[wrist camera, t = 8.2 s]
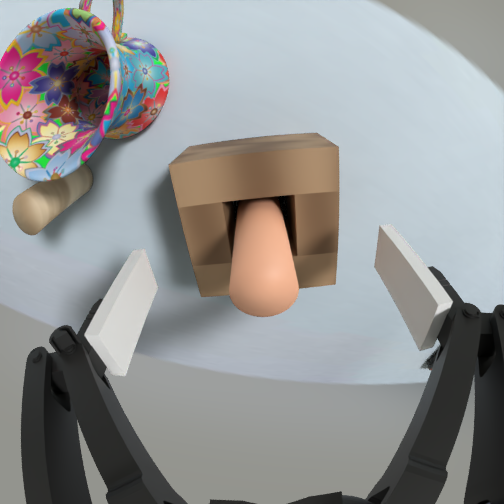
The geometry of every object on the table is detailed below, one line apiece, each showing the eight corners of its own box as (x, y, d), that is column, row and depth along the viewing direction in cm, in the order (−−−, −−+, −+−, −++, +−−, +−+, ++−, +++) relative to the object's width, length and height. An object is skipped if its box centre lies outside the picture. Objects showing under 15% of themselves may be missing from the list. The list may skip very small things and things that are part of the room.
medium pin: (71, 197, 23) (22, 237, 16) (62, 166, 21) (7, 199, 14) (96, 190, 23) (47, 232, 16) (87, 157, 21) (32, 189, 14)
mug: (157, 153, 21) (94, 202, 12) (67, 130, 19) (-17, 165, 10) (207, 16, 15) (172, -39, 6) (106, 3, 14) (28, -26, 4)
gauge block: (210, 254, 26) (201, 297, 21) (188, 146, 21) (168, 165, 16) (319, 243, 26) (335, 284, 20) (316, 132, 20) (338, 146, 15)
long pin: (241, 217, 24) (234, 319, 14) (236, 181, 23) (223, 266, 12) (279, 213, 24) (298, 313, 14) (276, 178, 22) (298, 259, 12)
